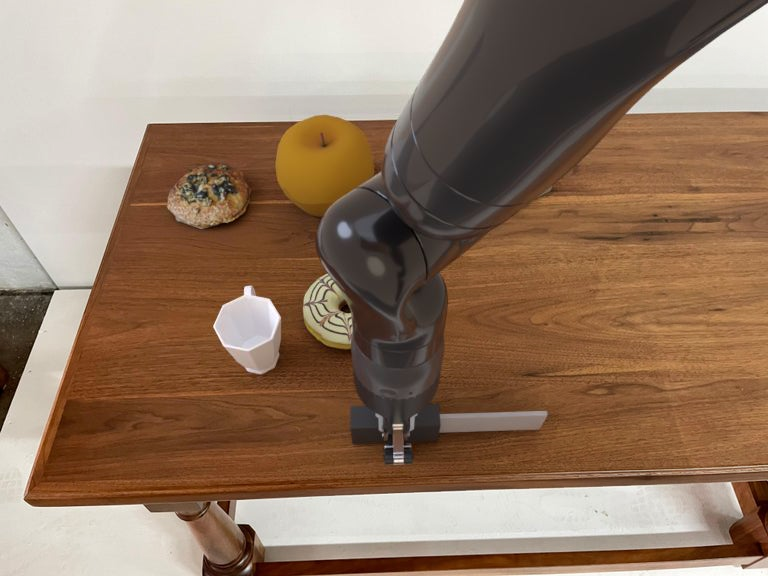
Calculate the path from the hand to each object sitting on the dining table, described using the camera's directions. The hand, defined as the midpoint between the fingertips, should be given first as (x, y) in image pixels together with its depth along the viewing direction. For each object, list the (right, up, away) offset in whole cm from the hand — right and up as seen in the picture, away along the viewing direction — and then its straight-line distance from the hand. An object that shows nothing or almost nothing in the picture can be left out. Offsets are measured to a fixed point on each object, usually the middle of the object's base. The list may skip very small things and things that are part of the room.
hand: (394, 431), depth 64 cm
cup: (-16, +8, +6) cm, 19 cm away
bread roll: (-25, +27, +19) cm, 41 cm away
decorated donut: (-5, +12, +8) cm, 15 cm away
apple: (-9, +28, +19) cm, 35 cm away
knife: (+5, 0, 0) cm, 5 cm away
